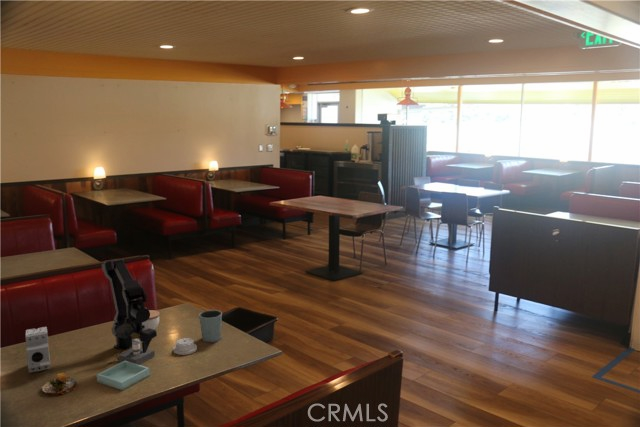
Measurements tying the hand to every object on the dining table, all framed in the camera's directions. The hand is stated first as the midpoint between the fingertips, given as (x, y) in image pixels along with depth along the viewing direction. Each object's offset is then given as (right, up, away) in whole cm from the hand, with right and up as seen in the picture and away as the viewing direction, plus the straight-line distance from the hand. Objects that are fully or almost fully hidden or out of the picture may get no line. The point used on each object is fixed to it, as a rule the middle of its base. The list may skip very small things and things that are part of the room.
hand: (136, 350), depth 224 cm
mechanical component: (+18, -3, +9) cm, 20 cm away
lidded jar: (-5, +2, +31) cm, 32 cm away
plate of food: (-20, -8, -24) cm, 33 cm away
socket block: (0, -3, +1) cm, 4 cm away
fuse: (0, -3, +1) cm, 4 cm away
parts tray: (+1, -7, -17) cm, 18 cm away
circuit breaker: (-35, -5, -10) cm, 37 cm away
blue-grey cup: (+27, 0, +21) cm, 34 cm away
